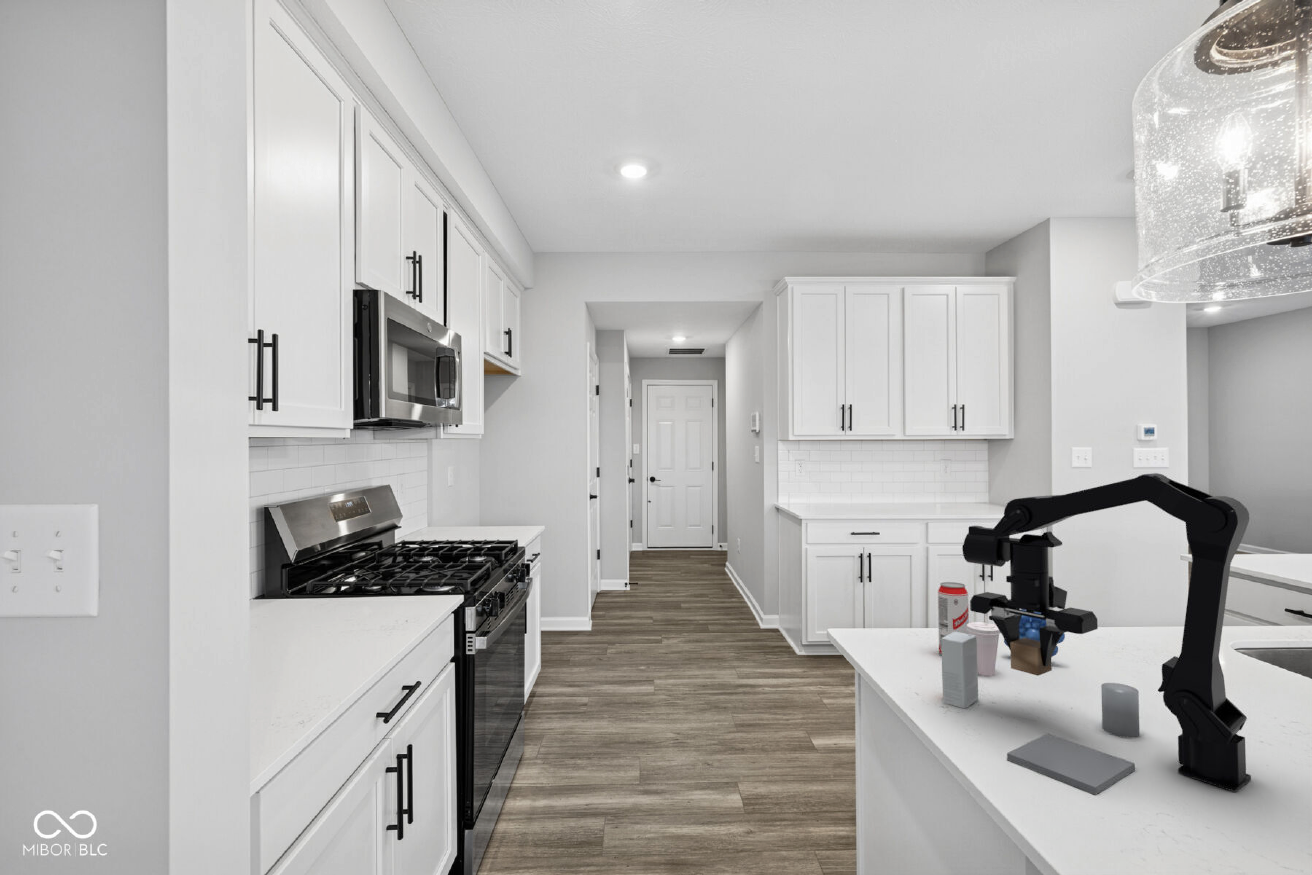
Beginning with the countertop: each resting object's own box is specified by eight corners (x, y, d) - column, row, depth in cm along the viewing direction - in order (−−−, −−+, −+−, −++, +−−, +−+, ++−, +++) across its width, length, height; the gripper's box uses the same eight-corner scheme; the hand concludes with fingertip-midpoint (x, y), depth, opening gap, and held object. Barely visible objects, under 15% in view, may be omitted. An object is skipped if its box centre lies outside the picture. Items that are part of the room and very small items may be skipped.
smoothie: (1006, 679, 131) (1004, 609, 132) (971, 677, 133) (970, 608, 133) (996, 668, 138) (994, 602, 138) (963, 666, 139) (962, 601, 139)
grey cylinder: (1145, 732, 107) (1144, 689, 107) (1131, 740, 104) (1130, 696, 104) (1110, 722, 111) (1109, 680, 111) (1096, 729, 108) (1095, 686, 108)
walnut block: (1051, 670, 111) (1051, 643, 111) (1038, 675, 109) (1037, 648, 109) (1024, 663, 115) (1024, 637, 115) (1010, 668, 112) (1010, 641, 112)
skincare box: (955, 693, 124) (954, 630, 124) (979, 700, 121) (977, 635, 121) (941, 702, 120) (940, 637, 120) (965, 709, 117) (963, 642, 117)
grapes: (1068, 662, 141) (1067, 606, 141) (1064, 670, 136) (1062, 612, 136) (1008, 652, 149) (1007, 599, 149) (1001, 659, 143) (1000, 605, 143)
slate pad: (1134, 769, 94) (1134, 762, 94) (1095, 794, 88) (1095, 787, 88) (1048, 739, 105) (1048, 733, 105) (1007, 759, 98) (1007, 752, 98)
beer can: (932, 653, 148) (931, 583, 148) (952, 650, 151) (951, 580, 151) (955, 662, 142) (954, 588, 142) (975, 657, 145) (974, 585, 145)
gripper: (1112, 573, 108) (1114, 667, 108) (1001, 558, 124) (1003, 640, 124) (1079, 581, 102) (1081, 681, 102) (967, 564, 118) (969, 651, 118)
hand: (1031, 661), depth 112 cm, fingers closed on walnut block, 4 cm apart
